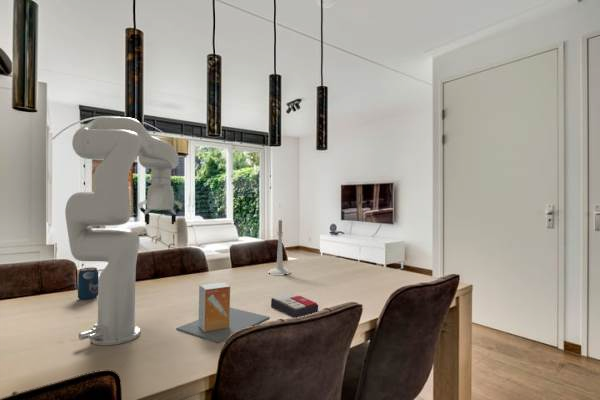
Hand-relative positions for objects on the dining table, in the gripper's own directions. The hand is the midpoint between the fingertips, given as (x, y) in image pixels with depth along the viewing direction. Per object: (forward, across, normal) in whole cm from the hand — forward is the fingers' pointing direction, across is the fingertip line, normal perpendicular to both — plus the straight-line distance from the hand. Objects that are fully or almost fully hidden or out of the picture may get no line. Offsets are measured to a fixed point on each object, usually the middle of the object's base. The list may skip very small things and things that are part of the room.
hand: (160, 224), depth 138 cm
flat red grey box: (+31, +51, -26) cm, 65 cm away
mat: (+30, +25, -36) cm, 53 cm away
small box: (+30, +22, -39) cm, 54 cm away
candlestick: (+30, +57, +36) cm, 74 cm away
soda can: (+30, -27, +4) cm, 41 cm away
